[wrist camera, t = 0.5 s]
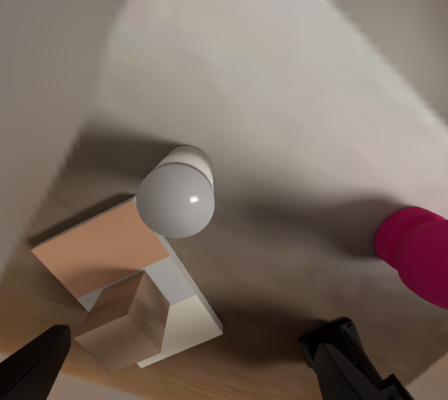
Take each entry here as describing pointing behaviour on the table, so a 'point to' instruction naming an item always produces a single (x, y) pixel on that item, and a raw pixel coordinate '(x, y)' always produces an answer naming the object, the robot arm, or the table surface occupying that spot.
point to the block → (125, 323)
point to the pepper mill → (417, 252)
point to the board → (130, 272)
